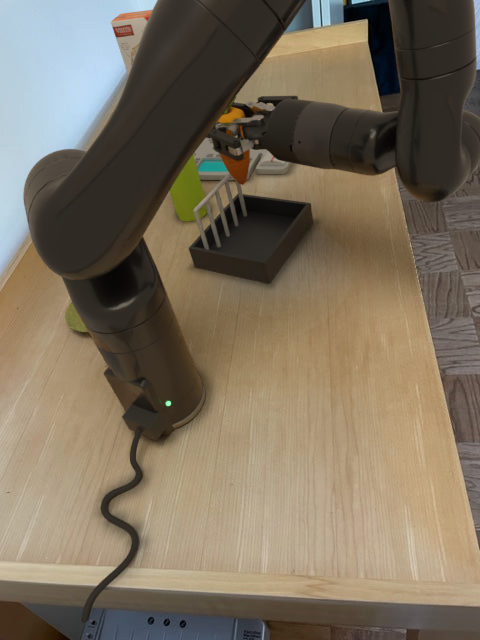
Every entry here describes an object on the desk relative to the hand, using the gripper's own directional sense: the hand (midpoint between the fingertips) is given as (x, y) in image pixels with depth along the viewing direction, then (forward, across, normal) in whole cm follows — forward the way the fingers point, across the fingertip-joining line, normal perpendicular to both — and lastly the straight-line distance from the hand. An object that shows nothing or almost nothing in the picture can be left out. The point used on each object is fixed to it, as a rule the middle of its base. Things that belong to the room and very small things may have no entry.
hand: (214, 118), depth 75 cm
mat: (+9, +24, +21) cm, 34 cm away
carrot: (-3, 0, +10) cm, 11 cm away
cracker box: (+62, -40, +21) cm, 77 cm away
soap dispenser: (+14, -3, +21) cm, 26 cm away
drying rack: (-2, 0, +21) cm, 22 cm away
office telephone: (+19, -24, +21) cm, 37 cm away
